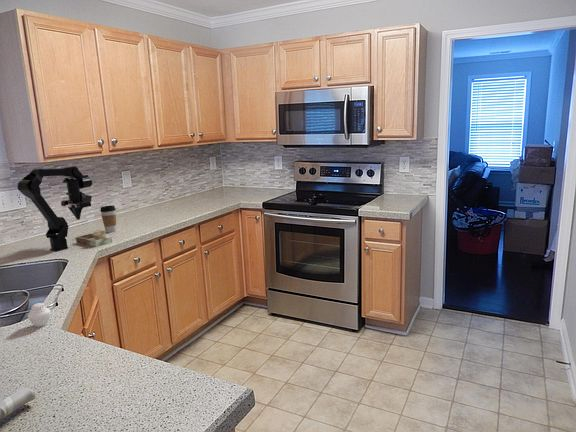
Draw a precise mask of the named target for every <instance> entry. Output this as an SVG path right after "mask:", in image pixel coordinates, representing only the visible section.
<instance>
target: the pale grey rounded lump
mask: <svg viewBox="0 0 576 432" xmlns="http://www.w3.org/2000/svg"><path fill="white" fill-rule="evenodd" d="M50 317H51V309H50V308H48V307H47V306H45V304H44V303H42V302H38V303H34V304H33V305H32V306H31V308H30V311H29V312H28V314H27V319H28V320H29V321H30V323H31V324H33V325H34V327H37V328H39V327H44V326H46V325H47V324H48V323H49V320H50Z"/></svg>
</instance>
